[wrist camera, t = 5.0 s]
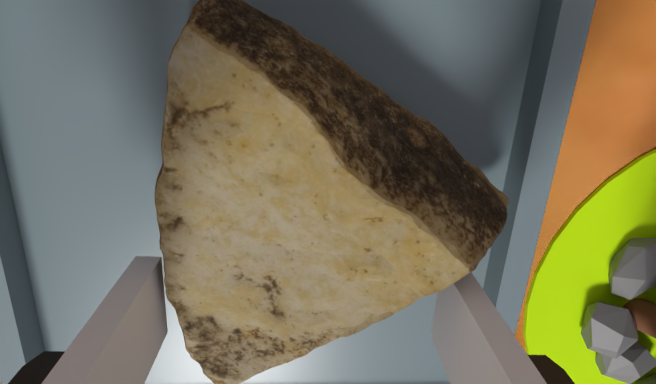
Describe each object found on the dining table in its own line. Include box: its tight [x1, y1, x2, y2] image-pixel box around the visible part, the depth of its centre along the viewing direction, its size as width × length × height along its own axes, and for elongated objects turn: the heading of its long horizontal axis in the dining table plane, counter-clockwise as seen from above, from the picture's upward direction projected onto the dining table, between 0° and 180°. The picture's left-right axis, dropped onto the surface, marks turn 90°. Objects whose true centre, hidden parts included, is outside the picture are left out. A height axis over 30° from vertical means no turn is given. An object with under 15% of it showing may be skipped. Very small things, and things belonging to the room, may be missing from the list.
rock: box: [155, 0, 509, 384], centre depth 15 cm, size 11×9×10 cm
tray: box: [0, 0, 596, 384], centre depth 16 cm, size 19×19×2 cm
